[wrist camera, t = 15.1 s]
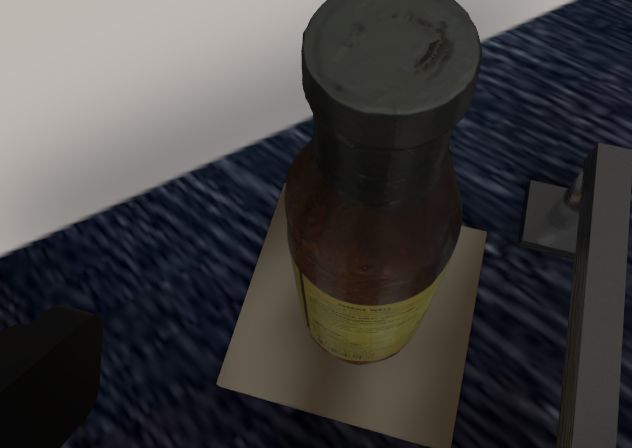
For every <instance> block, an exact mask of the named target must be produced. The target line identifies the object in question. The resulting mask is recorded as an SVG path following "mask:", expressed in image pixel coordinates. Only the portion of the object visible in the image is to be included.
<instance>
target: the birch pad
mask: <svg viewBox="0 0 632 448" xmlns="http://www.w3.org/2000/svg"><path fill="white" fill-rule="evenodd" d="M285 189H286V183H284V186H283V189H282V192H281V195H280V198H279V201H278V203H277V206H276V209H275V212H274V215H273V218H272V221H271V224H270V227H269V230H268V233H267V236H266V239H265V242H264V245H263V248H262V251H261V254H260V257H259V260H258V262H257V265H256V268H255V271H254V274H253V277H252V280H251V283H250V286H249V289H248V292H247V295H246V298H245V301H244V304H243V307H242V310H241V313H240V316H239V319H238V321H237V324H236V327H235V330H234V333H233V336H232V339H231V342H230V345H229V348H228V351H227V354H226V357H225V360H224V363H223V366H222V369H221V372H220V375H219V378H218V380H217V383H216V384H217V385H218V386H220V387H223V388H227V389H230V390H234V391H237V392H241V393H244V394H248V395H251V396H255V397H258V398H261V399H265V400H268V401H272V402H275V403H279V404H282V405H286V406H289V407H292V408H296V409H299V410H303V411H306V412H310V413H313V414H317V415H320V416H323V417H327V418H330V419H334V420H337V421H341V422H344V423H348V424H351V425H354V426H358V427H361V428H365V429H368V430H372V431H375V432H379V433H382V434H385V435H389V436H392V437H396V438H399V439H403V440H406V441H410V442H413V443H417V444H420V445H423V446H427V447H430V448H451V443H452V437H453V431H454V425H455V419H456V413H457V407H458V401H459V395H460V389H461V383H462V377H463V371H464V365H465V360H466V354H467V348H468V342H469V336H470V330H471V324H472V318H473V312H474V306H475V300H476V294H477V288H478V282H479V276H480V270H481V264H482V258H483V252H484V246H485V240H486V234H487V232H486V231H481V230H477V229H473V228H469V227H465V226H461V230H460V235H459V238H458V241H457V244H456V247H455V250H454V252H453V254H452V257H451V259H450V262H449V264H448V265H447V268H446V270H445V272H444V275H443V277H442V278H441V281H440V283H439V285H438V288H437V290H436V292H435V294H434V296H433V298H432V300H431V302H430V305H429V307H428V309H427V311H426V313H425V316H424V318H423V320H422V322H421V324H420V326H419V328H418V330H417V332H416V333H415V335H414V337H413V338H412V339H411V340H410V341H409V343H408V344H407V345H405V347H404V348H402V349H401V350H400V351H399V352H398V353H397V354H396V355H394V356H392V357H390V358H388V359H386V360H383V361H380V362H376V363H371V364H363V365H355V364H349V363H347V362H344V361H342V360H340V359H338V358H336V357H333V356H331V355H329V354H328V353H327V352H325V351H324V350H323V349H322V348H321V347H320V346H319V345H318V344H317V343H316V342H315V341H314V340H313V338H312V337H311V334H310V330H309V328H307V327H306V325H305V322H304V320H303V316H302V311H301V306H300V301H299V297H298V292H297V287H296V282H295V277H294V271H293V266H292V261H291V256H290V251H289V245H288V240H287V218H286V214H285V201H284V196H285V194H284V193H285Z"/></svg>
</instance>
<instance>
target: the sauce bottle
mask: <svg viewBox="0 0 632 448" xmlns="http://www.w3.org/2000/svg"><path fill="white" fill-rule="evenodd" d="M481 55H482V49H481V44H480V39H479V36H478V32H477V29H476V26H475V25H474V23H473V22H472V20H471V19H470V17H469V14H468V13H467V12H466V11H465V10H464V9H463V8H462V7H461V6H460V5H459V4H458V3H457V2H456V1H455V0H327V1H326V2H325V3H323V4H322V5H321V7H320V8H319V9H318V10H317V11H316V13H314V15H313V16H312V18H311V19H310V22H309V24H308V26H307V28H306V29H305V31H304V33H303V43H302V75H303V77H302V81H303V83H302V84H303V89H304V92H305V97H306V99H307V101H308V103H309V105H310V108H311V110H312V112H313V119H314V134H313V137H312V139H311V140H310V141H309V142H308V144H307V145H306V146H305V147H304V148H303V149H302V150H301V151H300V152H299V153H298V155H297V156H296V158H295V159H294V161H293V163H292V165H291V166H290V169H289V171H288V173H287V175H286V189H285V193H284V194H285V196H284V201H285V214H286V218H287V240H288V245H289V251H290V256H291V261H292V266H293V271H294V277H295V282H296V287H297V292H298V297H299V301H300V306H301V311H302V316H303V320H304V322H305V325H306V327H307V328H309V330H310V334H311V337H312V338H313V340H314V341H315V342H316V343H317V344H318V345H319V346H320V347H321V348H322V349H323V350H324V351H325V352H327V353H328V354H329V355H331V356H333V357H336V358H338V359H340V360H342V361H344V362H347V363H349V364H355V365H363V364H371V363H376V362H380V361H383V360H386V359H388V358H390V357H392V356H394V355H396V354H397V353H398V352H399V351H400V350H401V349H402V348H404V347H405V345H407V344H408V343H409V341H410V340H411V339H412V338H413V337H414V335H415V333H416V332H417V330H418V328H419V326H420V324H421V322H422V320H423V318H424V316H425V313H426V311H427V309H428V307H429V305H430V302H431V300H432V298H433V296H434V294H435V292H436V290H437V288H438V285H439V283H440V281H441V278H442V277H443V275H444V272H445V270H446V268H447V265H448V264H449V262H450V259H451V257H452V254H453V252H454V250H455V247H456V244H457V241H458V238H459V235H460V230H461V225H462V201H461V196H460V191H459V188H458V184H457V180H456V176H455V172H454V169H453V165H452V161H451V157H450V153H449V141H450V139H451V135H452V131H453V128H454V126H455V125H456V124H457V123H458V122H459V121H460V120H461V119H462V118H463V116H464V115H465V113H466V111H467V110H468V108H469V106H470V104H471V101H472V98H473V95H474V91H475V86H476V81H477V77H478V74H479V71H480V62H481Z"/></svg>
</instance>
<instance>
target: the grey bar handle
mask: <svg viewBox="0 0 632 448" xmlns="http://www.w3.org/2000/svg"><path fill="white" fill-rule="evenodd" d="M631 178H632V150H630V149H625V148H621V147H616V146H612V145H607V144H602V143H598V144H597V145H596V146H595V147H594V149H593V150H592V151H591V152H590V154H589V155H588V156H587V157H586V158H585V160H584V168H583V171H582V172H581V173H580V175H579V176H578V177H577V178H576V179H575V180H574V182H573V183H572V184H571V185H570V186H569V187H568V188H564V187H560V186H555V185H551V184H547V183H542V182H538V181H533V180H530V182H529V183H528V185H527V186H526V193H525V200H524V207H523V214H522V221H521V228H520V235H519V242H518V246H521V247H525V248H530V249H534V250H538V251H542V252H546V253H550V254H554V255H559V256H563V257H567V258H571V259H575V260H574V271H573V281H572V291H571V301H570V312H569V322H568V332H567V342H566V353H565V363H564V373H563V384H562V394H561V404H560V414H559V425H558V435H557V445H556V448H616V440H617V422H618V405H619V387H620V370H621V352H622V335H623V318H624V300H625V283H626V265H627V248H628V230H629V213H630V195H631Z"/></svg>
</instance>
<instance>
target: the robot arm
mask: <svg viewBox="0 0 632 448" xmlns="http://www.w3.org/2000/svg"><path fill="white" fill-rule="evenodd" d="M102 333H103V323H102V319H101V317H100V316H99V315H96V314H92V313H89V312H85V311H82V310H78V309H75V308H71V307H68V306H64V305H60V304H59V305H55V306H53V307H51V308H50V309H49V310H47V311H46V312H45V313H43V314H42V315H41V316H39V317H38V318H36V319H35V320H34V321H32V322H31V323H30V324H28V325H25V324H22V323H19V324H16V325H14V326H11V327H8V328H6V329H3V330H0V448H61V446H62V445H63V444H64V443H65V442H66V441H67V440H68V438H69V437H70V436H71V435H72V434H73V433H74V432H75V431H76V429H77V428H78V427H79V426H80V425H81V424H82V423H83V421H84V420H85V419H86V418H87V416H88V415H89V413H90V411H91V409H92V407H93V405H94V403H95V401H96V398H97V395H98V391H99V385H100V369H101V351H102Z"/></svg>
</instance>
